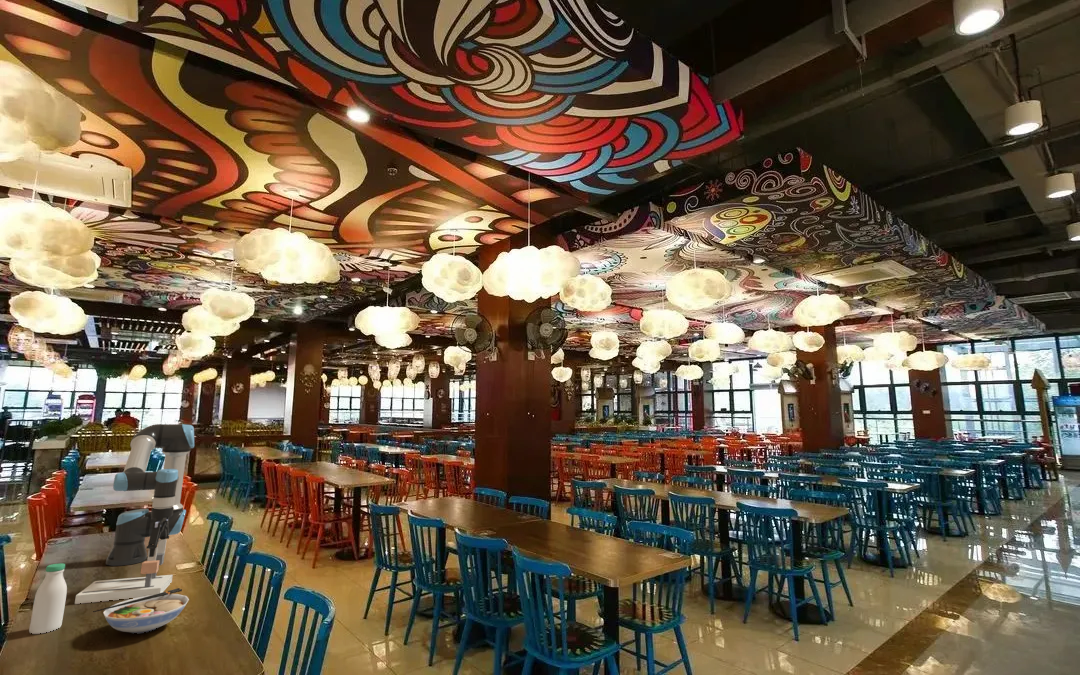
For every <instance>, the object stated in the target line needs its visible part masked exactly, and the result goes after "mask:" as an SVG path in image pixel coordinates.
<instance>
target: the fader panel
mask: <svg viewBox="0 0 1080 675" xmlns="http://www.w3.org/2000/svg"><path fill="white" fill-rule="evenodd" d="M145 580H146V576H141V577H128V578H127V577H126V578H117V579H116V578H115V579H105V580H94V581H93V582H91V583H90V585H88V586H86V587H85V588H84V589H83V590H81V591H80V592H79V593H77V594H76V595H75V600H74V605H79V604H80V603H81V604H89V603H90V604H91V602H92V603H101V602H100V601H102V602H110V601H109V600H113V601H120V600H119V599H124V600H130V599H129V598H138V597H144V596H149V595H155V594H159V593H163V592H166V589H167V588H168V587H169V586H170V585H171V584H170V583H172V582H173V574H166V575H165V574H164V575H156V577H155V578H152V579H151V585H150V586H149V587H145Z"/></svg>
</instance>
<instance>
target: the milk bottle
mask: <svg viewBox="0 0 1080 675" xmlns="http://www.w3.org/2000/svg"><path fill="white" fill-rule="evenodd" d="M65 569H66V563H63V562H61V563H53V564H49V565H47V566H46V568H45V572H44V573H45V575H44V576H45V577H44V579H43V581H42V582H41V584H40V585H39V586H38V588H37V590H36V592H35V596H34V599H33V607H32V612H31V617H30V623H29V628H28V632H29V634H31V633H32V635H41V634H46V632H47V633H50V631H51V632H54V631H57V630H59V629H60V628H61V627H62V624H63V621H64V620H63V618H64V612H65V607H66V606H65V605H66V599H67V592H68V587H67V582H66V580H65V577H64V571H65ZM58 628H59V629H58ZM56 629H57V630H56ZM53 630H54V631H53ZM40 633H41V634H40Z"/></svg>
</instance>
